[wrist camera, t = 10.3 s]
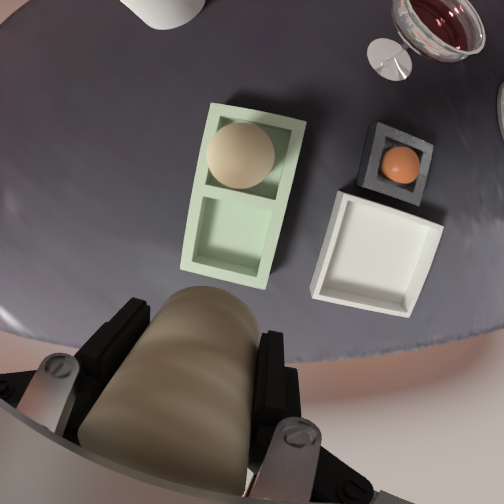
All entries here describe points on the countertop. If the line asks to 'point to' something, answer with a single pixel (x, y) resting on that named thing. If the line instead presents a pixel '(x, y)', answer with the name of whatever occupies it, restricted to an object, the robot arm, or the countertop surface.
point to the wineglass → (428, 35)
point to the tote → (374, 256)
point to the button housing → (369, 166)
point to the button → (399, 164)
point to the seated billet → (240, 155)
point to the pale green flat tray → (240, 204)
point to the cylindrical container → (165, 11)
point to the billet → (183, 395)
